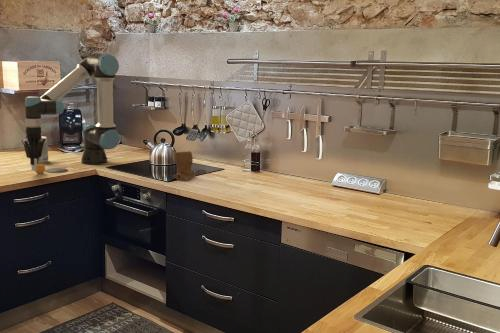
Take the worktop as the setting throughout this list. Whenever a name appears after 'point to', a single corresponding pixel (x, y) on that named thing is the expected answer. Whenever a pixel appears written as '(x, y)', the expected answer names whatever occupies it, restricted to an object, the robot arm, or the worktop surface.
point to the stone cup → (184, 165)
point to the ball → (40, 168)
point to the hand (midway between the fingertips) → (34, 170)
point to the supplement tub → (44, 152)
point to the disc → (56, 170)
